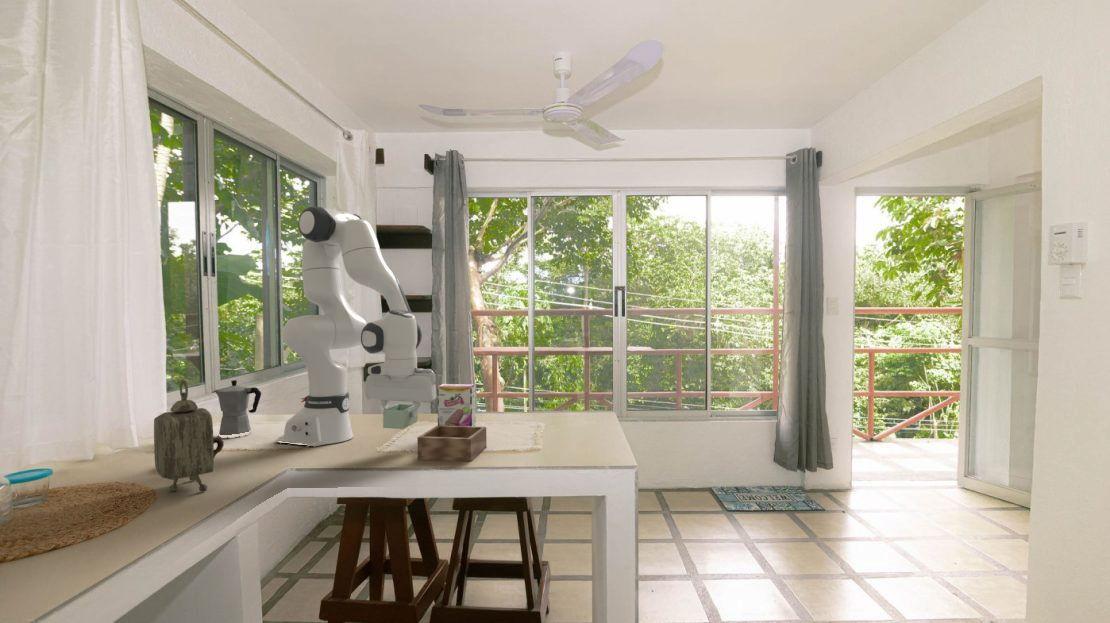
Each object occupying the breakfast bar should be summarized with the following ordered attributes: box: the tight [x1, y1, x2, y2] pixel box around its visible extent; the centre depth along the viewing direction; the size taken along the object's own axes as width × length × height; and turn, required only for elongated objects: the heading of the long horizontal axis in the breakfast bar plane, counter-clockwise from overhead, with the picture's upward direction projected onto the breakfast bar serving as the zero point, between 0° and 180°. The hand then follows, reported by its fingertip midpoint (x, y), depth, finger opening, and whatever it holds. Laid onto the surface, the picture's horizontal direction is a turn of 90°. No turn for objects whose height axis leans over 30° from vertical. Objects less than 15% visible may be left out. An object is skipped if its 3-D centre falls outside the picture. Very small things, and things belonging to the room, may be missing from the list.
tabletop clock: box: [153, 379, 215, 492], centre depth 121 cm, size 14×9×25 cm, turn 45°
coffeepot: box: [213, 379, 262, 435], centre depth 172 cm, size 15×9×18 cm, turn 88°
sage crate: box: [382, 403, 419, 430], centre depth 150 cm, size 6×9×5 cm, turn 170°
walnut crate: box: [417, 424, 488, 463], centre depth 148 cm, size 15×14×6 cm
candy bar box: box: [437, 383, 477, 427], centre depth 167 cm, size 11×5×16 cm, turn 84°
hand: (400, 416), depth 150 cm, fingers closed on sage crate, 6 cm apart
